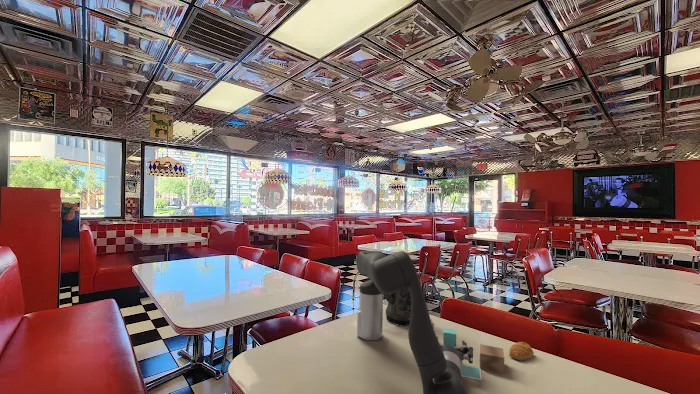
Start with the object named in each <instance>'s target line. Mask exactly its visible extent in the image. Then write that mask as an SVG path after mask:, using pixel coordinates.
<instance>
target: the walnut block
mask: <svg viewBox="0 0 700 394" xmlns="http://www.w3.org/2000/svg"><path fill="white" fill-rule="evenodd" d="M479 347H480V349H479V368H480V369H481V370H486V371H490V372H494V373H500V374H502V375H503V374H505V355H504V348H501V347H498V346H493V345H492V346H491V345H486V344H482V343H481V344H480V345H479Z"/></svg>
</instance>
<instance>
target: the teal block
mask: <svg viewBox="0 0 700 394" xmlns="http://www.w3.org/2000/svg"><path fill="white" fill-rule="evenodd" d="M442 344H443V345H449V346H452V347H456V346H457V329H455V328H446V327H444V328H443V343H442Z"/></svg>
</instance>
